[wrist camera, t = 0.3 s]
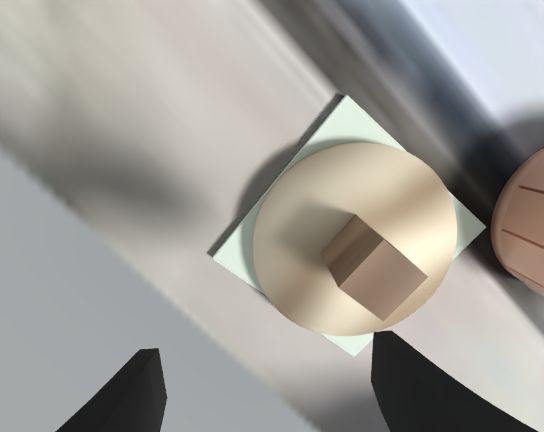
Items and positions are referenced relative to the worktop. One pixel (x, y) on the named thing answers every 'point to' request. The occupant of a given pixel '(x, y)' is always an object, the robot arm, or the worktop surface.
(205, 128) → the worktop surface
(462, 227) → the mat
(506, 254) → the bowl
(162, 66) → the worktop surface
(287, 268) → the lid
